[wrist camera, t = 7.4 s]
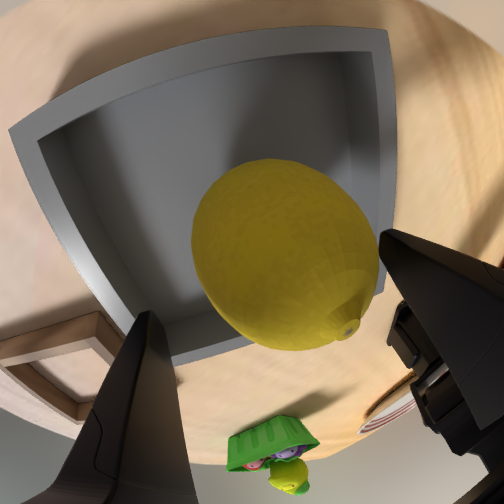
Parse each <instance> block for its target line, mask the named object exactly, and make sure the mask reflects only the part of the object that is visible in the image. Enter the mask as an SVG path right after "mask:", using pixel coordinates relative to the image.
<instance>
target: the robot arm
mask: <svg viewBox="0 0 504 504" xmlns="http://www.w3.org/2000/svg"><path fill="white" fill-rule="evenodd" d="M378 253H379V257H380V259H381V261H382V263H383V264H384V266H385V268H386V269H387V271H388V273H389V274H390V276H391V278H392V280H393V281H394V283H395V285H396V287H397V288H398V290H399V292H400V293H401V295H402V296H403V298H404V299H405V301H406V303H404V304H402V305H400V306H399V307H398V308H397V310H396V313H395V316H394V320H393V323H392V327H391V330H390V333H389V336H388V339H387V342H386V343H387V345H388V346H391V345H392V347H393V348H394V349H395V351H396V352H397V354H398V355H399V357H400V358H401V360H402V361H403V363H404V364H405V366H406V367H407V368H408V369H410V368H412V369H413V370H414V372H415V373H416V375H417V376H418V379H417V380H416V381H413V382H412V383H411V384H409V386H410V390H411V393H412V395H413V397H414V399H415V402H416V404H417V406H418V408H419V410H420V413H421V416H422V420H423V423H424V425H425V426H426V427H430V428H431V429H432V431H434V432H435V433H436V434H440V433H441V435H442V436H443V437H444V438H445V440H446V442H447V444H448V445H449V447H450V449H451V451H452V452H453V453H455V454H457V455H459V456H462V455H464V454H465V453H470V454H474V455H478V456H479V457H480V458H481V460H482V462H483V463H484V465H485V467H486V469H487V471H488V472H489V474H488V475H487V476H485V478H483V479H482V480H481V481H480V482H479V483H478V484H477V485H475V486H474V487H473V488H472V489H471V490H470V491H468V492H467V493H466V494H465V495H464V496H462V497H461V498H460V499H458V500H457V501H456V502H455V503H453V504H504V270H503V269H501V268H498V267H496V266H493V265H491V264H488V263H486V262H483V261H481V260H478V259H476V258H473V257H471V256H468V255H466V254H463V253H460V252H458V251H455V250H453V249H450V248H447V247H444V246H442V245H439V244H436V243H433V242H431V241H428V240H425V239H422V238H419V237H416V236H413V235H411V234H408V233H405V232H402V231H399V230H396V229H392V228H390V229H387V230H384V231H382V232H381V233H380V237H379V248H378ZM447 369H448V370H447ZM446 370H447V371H446ZM445 371H446V372H445ZM444 372H445V373H444ZM441 374H442V375H441ZM440 375H441V376H440ZM439 376H440V377H439ZM438 377H439V378H438ZM437 378H438V379H437ZM436 379H437V380H436ZM435 380H436V381H435ZM433 381H434V382H433ZM432 382H433V383H432ZM431 383H432V384H431ZM430 384H431V385H430ZM429 385H430V386H429ZM21 504H199V503H198V499H197V496H196V491H195V488H194V483H193V478H192V474H191V469H190V464H189V459H188V454H187V449H186V444H185V438H184V433H183V427H182V420H181V414H180V407H179V400H178V393H177V385H176V378H175V373H174V368H173V364H172V359H171V355H170V350H169V346H168V341H167V336H166V332H165V329H164V326H163V325H162V323H161V322H160V320H159V319H158V317H157V316H156V314H155V313H154V312H153V311H152V310H146V311H143V312H140V313H139V314H138V315H137V317H136V319H135V321H134V323H133V325H132V326H131V328H130V330H129V332H128V334H127V336H126V338H125V340H124V341H123V343H122V345H121V347H120V349H119V351H118V353H117V355H116V357H115V359H114V361H113V363H112V365H111V367H110V369H109V371H108V373H107V375H106V377H105V379H104V381H103V383H102V385H101V388H100V390H99V392H98V394H97V396H96V398H95V400H94V403H93V405H92V408H91V409H90V411H89V413H88V416H87V418H86V420H85V422H84V424H83V427H82V429H81V431H80V433H79V435H78V437H77V439H76V441H75V443H74V445H73V447H72V449H71V451H70V453H69V455H68V457H67V458H66V460H65V462H64V464H63V466H62V468H61V470H60V472H59V474H58V476H57V478H56V480H55V481H54V483H53V484H52V485H51V486H50V487H49V488H47V489H46V490H45V491H43V492H41V493H40V494H38V495H36V496H34V497H32V498H31V499H29V500H27V501H25V502H23V503H21Z"/></svg>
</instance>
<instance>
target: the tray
mask: <svg viewBox="0 0 504 504" xmlns="http://www.w3.org/2000/svg"><path fill="white" fill-rule="evenodd" d="M8 131H9V134H10V137H11V140H12V142H13V145H14V148H15V151H16V153H17V156H18V158H19V161H20V163H21V166H22V168H23V170H24V173H25V175H26V177H27V180H28V182H29V184H30V186H31V188H32V190H33V193H34V195H35V197H36V199H37V201H38V203H39V205H40V207H41V209H42V211H43V213H44V215H45V216H46V218H47V220H48V222H49V224H50V226H51V227H52V229H53V231H54V233H55V235H56V236H57V238H58V240H59V241H60V243H61V245H62V247H63V248H64V250H65V251H66V253H67V255H68V256H69V258H70V260H71V261H72V263H73V264H74V266H75V267H76V269H77V270H78V272H79V273H80V275H81V276H82V278H83V279H84V281H85V282H86V284H87V285H88V287H89V288H90V289H91V291H92V292H93V294H94V295H95V296H96V298H97V299H98V301H99V302H100V303H101V305H102V306H103V307H104V309H105V310H106V311H107V313H108V314H109V315H110V317H111V318H112V319H113V320H114V322H115V323H116V324H117V325H118V327H119V328H120V329H121V330H122V332H123V333H124V334H125V335H126V336H127V334H128V332H129V330H130V328H131V326H132V325H133V323H134V321H135V319H136V317H137V315H138V314H139V313H140V312H143V311H146V310H152V311H153V312H154V313H155V314H156V316H157V317H158V319H159V320H160V322H161V323H162V325H163V326H164V329H165V332H166V336H167V341H168V346H169V350H170V355H171V359H172V364H173V367H175V366H179V365H183V364H187V363H190V362H194V361H198V360H201V359H205V358H208V357H211V356H215V355H218V354H222V353H225V352H228V351H231V350H235V349H238V348H241V347H244V346H247V345H250V344H253V343H255V342H253V341H251V340H249V339H247V338H246V337H244V336H243V335H242V334H240V333H239V332H238V331H237V330H236V329H235V328H233V327H232V326H231V325H230V324H229V323H228V322H227V321H226V320H225V319H224V318H223V317H222V316H221V315H220V314H219V313H218V311H217V310H216V309H215V307H214V306H213V305H212V303H211V301H210V300H209V298H208V296H207V294H206V293H205V291H204V289H203V287H202V285H201V283H200V281H199V279H198V277H197V274H196V271H195V267H194V261H193V256H192V250H191V233H192V225H193V219H194V215H195V213H196V210H197V208H198V206H199V203H200V201H201V199H202V197H203V196H204V195H205V193H206V192H207V191H208V189H209V188H210V187H211V185H212V184H213V183H214V182H215V181H216V180H217V179H219V178H220V177H221V176H222V175H223V174H225V173H226V172H227V171H229V170H231V169H233V168H235V167H237V166H239V165H241V164H244V163H246V162H250V161H256V160H261V159H268V158H270V159H280V160H289V161H295V162H299V163H301V164H303V165H306V166H308V167H310V168H312V169H315V170H317V171H319V172H321V173H323V174H325V175H326V176H328V177H329V178H331V179H332V180H333V181H334V182H336V183H337V184H338V185H339V186H340V187H341V188H342V189H343V190H344V191H345V192H346V193H347V194H348V195H349V196H350V197H351V198H352V199H353V200H354V201H355V202H356V203H357V204H358V206H359V207H360V208H361V210H362V211H363V213H364V214H365V216H366V218H367V220H368V222H369V224H370V226H371V228H372V230H373V233H374V235H375V237H376V241H377V245H378V248H379V237H380V233H381V232H382V231H384V230H387V229H390V228H392V229H393V219H394V208H395V194H396V174H397V118H396V99H395V86H394V76H393V67H392V59H391V51H390V45H389V38H388V33H387V30H381V29H372V28H361V27H345V26H299V27H282V28H271V29H261V30H253V31H246V32H240V33H234V34H228V35H222V36H217V37H213V38H208V39H203V40H199V41H195V42H191V43H187V44H183V45H180V46H176V47H173V48H169V49H166V50H163V51H160V52H157V53H154V54H151V55H148V56H145V57H142V58H139V59H137V60H134V61H131V62H129V63H126V64H124V65H121V66H119V67H116V68H114V69H112V70H109V71H107V72H105V73H103V74H100V75H98V76H96V77H94V78H92V79H90V80H88V81H86V82H84V83H82V84H80V85H78V86H76V87H74V88H72V89H70V90H69V91H67V92H65V93H63V94H61V95H60V96H58V97H56V98H55V99H53V100H51V101H50V102H48V103H46V104H45V105H43V106H42V107H40V108H38V109H37V110H35V111H34V112H32V113H31V114H29V115H28V116H26V117H25V118H23V119H22V120H21V121H19V122H18V123H16V124H15V125H14V126H12V127H11V128H10V129H8ZM386 273H387V269H386V268H385V266H384V264H383V263H382V261H381V259H380V257H379V274H378V280H377V286H376V290H375V293H374V295H373V296H375V295H377V294H379V293H382V292H383V290H384V284H385V279H386Z"/></svg>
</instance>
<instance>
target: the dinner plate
mask: <svg viewBox="0 0 504 504" xmlns="http://www.w3.org/2000/svg"><path fill="white" fill-rule="evenodd" d="M447 370H448V369H447ZM447 370H446V371H447ZM446 371H445V372H446ZM445 372H444V373H445ZM441 375H442V374H441ZM441 375H440V376H441ZM440 376H439V377H440ZM439 377H438V378H439ZM438 378H437V379H438ZM417 379H418V376H417V375H416V376H414V377H413V378H411V379H410V380H409V381H407V382H406V383H404V384H403V385H402V386H400V387H399V388H398V389H397V390H395V391H394V392H393V393H391V394H390V395H389V396H388V397H387V398H385V399H384V400H383V401H382V402H381V403H380V404H379V405H378V406H377V407H376V408H375V409H374V411H373V412H372V413H371V415H370V416H369V417H368V418H367V419H366V420H365V421H364V423H363V424H362V426H361V427H360V429H359V431H358V435H362V434H366V433H369V432H371V431H374V430H376V429H378V428H380V427H382V426H384V425H386V424H388V423H390V422H391V421H393V420H395V419H397V418H398V417H400V416H402V415H403V414H405V413H406V412H408V411H409V410H411V409H412V408H414V407H415V406H416V405H417V404H416V402H415V399H414V397H413V395H412V393H411V390H410V386H409V384H411V383H412V382H413V381H416V380H417ZM437 379H436V380H437ZM436 380H435V381H436ZM433 382H434V381H433ZM433 382H432V383H433ZM432 383H431V384H432ZM431 384H430V385H431ZM430 385H429V386H430Z"/></svg>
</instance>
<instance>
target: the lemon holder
mask: <svg viewBox="0 0 504 504" xmlns="http://www.w3.org/2000/svg"><path fill="white" fill-rule="evenodd" d="M122 343H123V340H122V338H121V337H120V336H119V335H118V334H117V333H116V331H115V330H114V329H113V328H112V327H111V325H110V324H109V323H108V322H107V320H106V319H105V318H104V317H103V315H102V314H101V313H100V311H97V312H94V313H91V314H87V315H84V316H81V317H78V318H75V319H71V320H68V321H65V322H62V323H58V324H55V325H52V326H49V327H46V328H42V329H39V330H36V331H32V332H29V333H26V334H23V335H19V336H16V337H13V338H9V339H6V340H3V341H0V369H1V370H2V371H3V372H4V373H6V374H7V375H8V376H9V377H10V378H11V379H13V380H14V381H15V382H16V383H17V384H19V385H20V386H21V387H22V388H24V389H25V390H26V391H28V392H29V393H30V394H32V395H33V396H34V397H36V398H37V399H38V400H40V401H41V402H42V403H44V404H45V405H47V406H48V407H50V408H51V409H53V410H54V411H56V412H57V413H59V414H60V415H62V416H63V417H65V418H67V419H68V420H70V421H71V422H73V423H75V424H77V425H79V424H84V422H85V420H86V418H87V416H88V413H89V411H90V409H91V408H92V405H93V403H94V402H88V403H80V404H78V403H77V402H75V401H74V400H72V399H71V398H70V397H68V396H67V395H65V394H64V393H63V392H61V391H60V390H59V389H58V388H56V387H55V386H54V385H52V384H51V383H50V382H49V381H48V380H46V379H45V378H44V377H43V376H41V375H40V374H39V373H38V372H37V371H36V370H34V369H33V368H32V367H31V366H30V365H29V364H28V363H27V362H32V361H36V360H41V359H46V358H50V357H55V356H59V355H63V354H68V353H72V352H76V351H80V350H84V349H88V348H93V349H94V350H95V351H96V352H97V353H98V354H99V355H100V356H101V357H102V358H103V359H104V360H105V361H106V362H107V363H108V364H109V365H110V366H111V365H112V363H113V361H114V359H115V357H116V355H117V353H118V351H119V349H120V347H121V345H122Z"/></svg>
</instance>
